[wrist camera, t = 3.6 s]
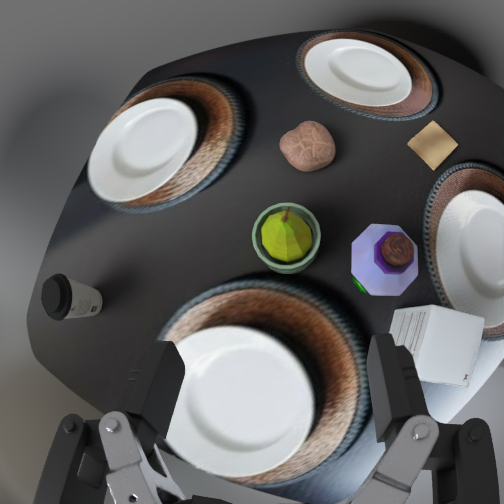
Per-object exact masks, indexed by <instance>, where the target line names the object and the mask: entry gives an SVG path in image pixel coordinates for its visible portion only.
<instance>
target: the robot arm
mask: <svg viewBox="0 0 504 504" xmlns="http://www.w3.org/2000/svg"><path fill="white" fill-rule="evenodd" d="M367 374H368V380H369V386H370V392H371V399H372V406H373V413H374V420H375V428H376V437H377V443H379V442H385V447H386V450H385V452H384V453H383V455H382V456H381V458H380V459H379V461H378V462H377V464H376V465H375V467H374V468H373V470H372V471H371V472H370V474H369V475H368V477H367V478H366V479H365V481H364V482H363V483H362V485H361V486H360V487H359V489H358V490H357V491H356V492H355V493H354V494H353V496H352V497H351V498H350V499H349V500H348V502H347V503H346V504H404V503H405V502H406V500H407V499H408V497H409V495H410V493H411V487H412V485H413V483H414V481H415V480H416V478H417V476H418V475H419V473H420V471H421V470H432V486H433V504H500V499H499V485H498V476H497V468H496V460H495V454H494V448H493V443H492V438H491V433H490V429H489V426H488V424H487V423H486V422H485V421H484V420H482V419H479V418H473V419H469V420H468V421H466V422H465V423H464V424H463V425H458V424H443V423H440V422H438V421H436V420H434V419H433V418H432V417H431V415H430V414H429V412H428V410H427V406H426V402H425V398H424V394H423V390H422V387H421V383H420V379H419V377H418V372H417V369H416V368H415V362H414V359H413V356H412V354H411V353H410V351H409V350H408V349H407V348H406V347H405V345H400V346H396V345H395V342H394V338H393V336H392V334H391V333H388V334H380V335H373V336H372V338H371V343H370V348H369V352H368V357H367ZM184 375H185V365H184V362H183V360H182V358H181V356H180V354H179V352H178V350H177V348H176V346H175V344H174V343H173V342H172V341H154V342H153V344H152V346H151V348H150V351H149V352H144V353H143V354H142V355H141V356H140V357H139V359H138V360H137V361H136V363H135V366H134V368H133V372H131V375H130V377H129V380H128V382H127V384H126V386H125V389H124V391H123V393H122V396H121V398H120V400H119V403H118V405H117V407H116V409H115V411H113V412H109V413H107V414H106V415H104V416H103V418H102V419H99V420H83V419H82V418H81V417H80V416H78V415H76V414H69V415H67V416H65V417H64V418H63V419H62V421H61V422H60V425H59V427H58V430H57V432H56V435H55V437H54V440H53V443H52V446H51V448H50V451H49V454H48V457H47V460H46V463H45V465H44V469H43V471H42V474H41V478H40V481H39V484H38V487H37V491H36V494H35V498H34V501H33V504H103V503H104V499H105V495H106V491H107V486H109V489H110V492H111V494H112V497H113V500H114V503H115V504H232V503H229V502H226V501H223V500H221V499H214V498H208V497H202V496H196V495H193V496H192V499H186V498H185V497H184V494H183V493H182V491H181V489H180V488H179V487H178V485H177V484H176V483H175V482H174V481H173V480H172V478H171V476H170V474H169V472H168V470H167V468H166V466H165V464H164V462H163V460H162V458H161V455H160V453H159V451H158V448H157V446H156V444H155V440H156V437H159V438H164V439H166V435H167V432H168V429H169V425H170V422H171V418H172V415H173V412H174V408H175V405H176V402H177V398H178V395H179V392H180V389H181V385H182V382H183V379H184ZM83 453H84V454H85V456H84V459H83V462H82V466H81V469H80V472H79V475H78V476H77V473H78V469H79V466H80V463H81V460H82V457H83ZM304 504H309V503H304Z"/></svg>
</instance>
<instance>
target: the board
mask: <svg viewBox="0 0 504 504" xmlns="http://www.w3.org/2000/svg"><path fill="white" fill-rule="evenodd" d="M407 145H408V146H410V147H411V148H412V149H413V150H414V151H415V152H416V153H417V154H418V155H419V156H420V157H421V158H422V159H423V160H424V161H425V162H426V163H427V164H428V165H429V166H430V167H431V168H432V169H433V170H435V169H436V168H437V167H438V166H439V165H440V164H441V163H442V162H443V161H444V160H445V159H446V158H447V157H448V156H449V155H450V154H451V153H452V151H453V150H454V149H455V148H456V147H457V146H458V144H457V143H456V142H455V141H454V140H453V139H452V138H451V137H450V136H449V135H448V134H447V133H446V132H445V131H444V130H443V129H442V128H441V127H440V126H439V125H438V124H436V123H435V122H434V121H432V122H431V123H430V124H428V125H427V126H426V127H425V128H424V129H423V130H421V131H420V132H419V133H418V134H417V135H416V136H414V137H413V138H412V139H411V140H410V141H409V142H408V144H407Z"/></svg>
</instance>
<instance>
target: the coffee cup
mask: <svg viewBox="0 0 504 504" xmlns="http://www.w3.org/2000/svg"><path fill="white" fill-rule="evenodd" d="M41 299H42V304H43V307H44V309H45V311H46V313H47V314H48V316H50V317H51V318H52V319H54V320H57V321H60V320H63V319H68V318H77V317H86V316H94V315H97V314H98V313H99V312H100V310H101V308H102V296H101V294H100V292H99V291H98V290H96V289H94V288H91V287H89V286H86V285H84V284H81V283H79V282H76V281H74V280H72V279H69V278H67V277H66V276H65V275H63V274H55V275H53V276H51V277H50V278H49V279H47V280H46V281H45V282H44V284H43V288H42V297H41Z"/></svg>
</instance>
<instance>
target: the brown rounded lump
mask: <svg viewBox="0 0 504 504" xmlns="http://www.w3.org/2000/svg"><path fill="white" fill-rule="evenodd" d="M280 149H281V151H282V153H283V154H284V156H285V157H286V159H287V160H288V162H289V163H290V164H291V165H293V166H294V167H295V168H297V169H298V170H301V171H306V172H310V171H315V170H318V169H321V168H323V167H325V166H327V165H328V164H330V163H331V162H332V160H333V158H334V156H335V153H336V152H335V144H334V141H333V139H332V137H331V135H330V133H329V132H328V131H327V129H326V128H325V127H324V126H323V125H321V124H319V123H316V122H315V121H305V122H303V123H302V124H300V125H299V126H298V127H297V128H295V129H294V130H292V131H290V132H287V134H284V136H283V137H282V138H281V140H280Z"/></svg>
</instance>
